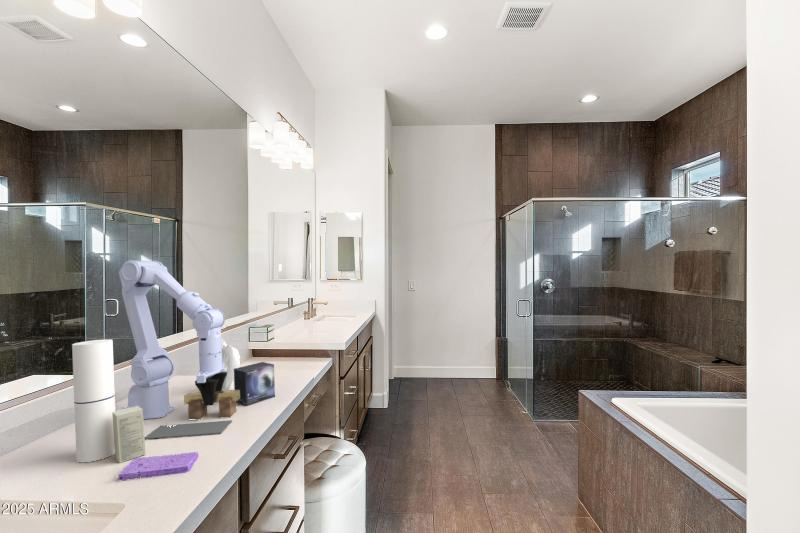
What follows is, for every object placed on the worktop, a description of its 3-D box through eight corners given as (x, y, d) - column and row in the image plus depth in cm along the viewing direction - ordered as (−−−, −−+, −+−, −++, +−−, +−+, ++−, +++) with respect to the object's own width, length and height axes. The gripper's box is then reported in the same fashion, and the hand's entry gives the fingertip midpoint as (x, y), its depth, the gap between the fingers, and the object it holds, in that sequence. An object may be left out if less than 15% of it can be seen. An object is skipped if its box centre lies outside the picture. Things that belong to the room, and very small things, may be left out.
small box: (246, 407, 118) (244, 371, 118) (233, 403, 121) (232, 368, 122) (276, 396, 126) (274, 363, 126) (263, 393, 130) (262, 361, 130)
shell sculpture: (232, 394, 130) (230, 339, 131) (207, 396, 131) (204, 340, 131) (242, 387, 139) (240, 335, 139) (219, 388, 139) (216, 336, 139)
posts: (188, 420, 108) (188, 401, 108) (196, 414, 113) (195, 396, 113) (230, 417, 109) (230, 398, 109) (236, 411, 114) (235, 393, 114)
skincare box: (141, 449, 91) (139, 404, 91) (146, 455, 88) (144, 408, 88) (113, 457, 87) (111, 411, 87) (117, 464, 84) (115, 415, 84)
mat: (143, 439, 96) (143, 438, 96) (160, 427, 104) (160, 425, 104) (220, 433, 98) (220, 432, 98) (231, 421, 106) (231, 420, 106)
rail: (184, 404, 109) (183, 395, 109) (188, 401, 112) (188, 393, 112) (237, 400, 110) (236, 392, 110) (240, 397, 113) (239, 389, 113)
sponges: (134, 467, 84) (134, 457, 84) (199, 458, 86) (199, 450, 86) (117, 484, 77) (117, 474, 77) (188, 474, 79) (188, 465, 79)
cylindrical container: (84, 465, 84) (80, 345, 84) (70, 458, 88) (66, 344, 88) (123, 451, 90) (118, 340, 90) (108, 445, 94) (104, 338, 94)
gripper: (215, 357, 104) (217, 410, 104) (234, 347, 119) (236, 393, 119) (187, 359, 104) (189, 412, 104) (209, 348, 118) (211, 395, 118)
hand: (212, 402), depth 111 cm, fingers open, 4 cm apart
